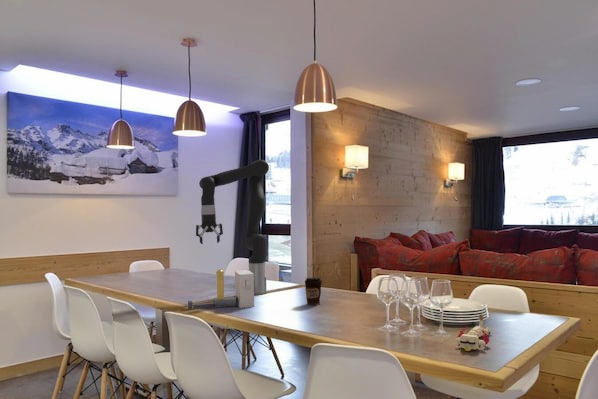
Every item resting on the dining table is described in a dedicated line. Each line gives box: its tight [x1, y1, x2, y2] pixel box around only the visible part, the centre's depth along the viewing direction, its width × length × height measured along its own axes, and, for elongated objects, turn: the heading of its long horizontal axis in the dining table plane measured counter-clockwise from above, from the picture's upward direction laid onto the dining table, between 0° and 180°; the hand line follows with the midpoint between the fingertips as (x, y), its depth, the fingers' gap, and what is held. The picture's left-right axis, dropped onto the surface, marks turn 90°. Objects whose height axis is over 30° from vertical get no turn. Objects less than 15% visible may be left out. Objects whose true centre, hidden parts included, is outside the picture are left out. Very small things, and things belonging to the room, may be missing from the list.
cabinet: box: [234, 269, 255, 309], centre depth 231 cm, size 8×15×16 cm, turn 17°
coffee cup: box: [304, 276, 323, 306], centre depth 228 cm, size 9×8×13 cm
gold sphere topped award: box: [213, 269, 237, 308], centre depth 229 cm, size 10×7×18 cm
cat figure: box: [454, 313, 492, 352], centre depth 160 cm, size 10×9×25 cm
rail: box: [187, 300, 239, 311], centre depth 228 cm, size 26×4×4 cm, turn 107°
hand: (209, 243), depth 252 cm, fingers open, 8 cm apart
